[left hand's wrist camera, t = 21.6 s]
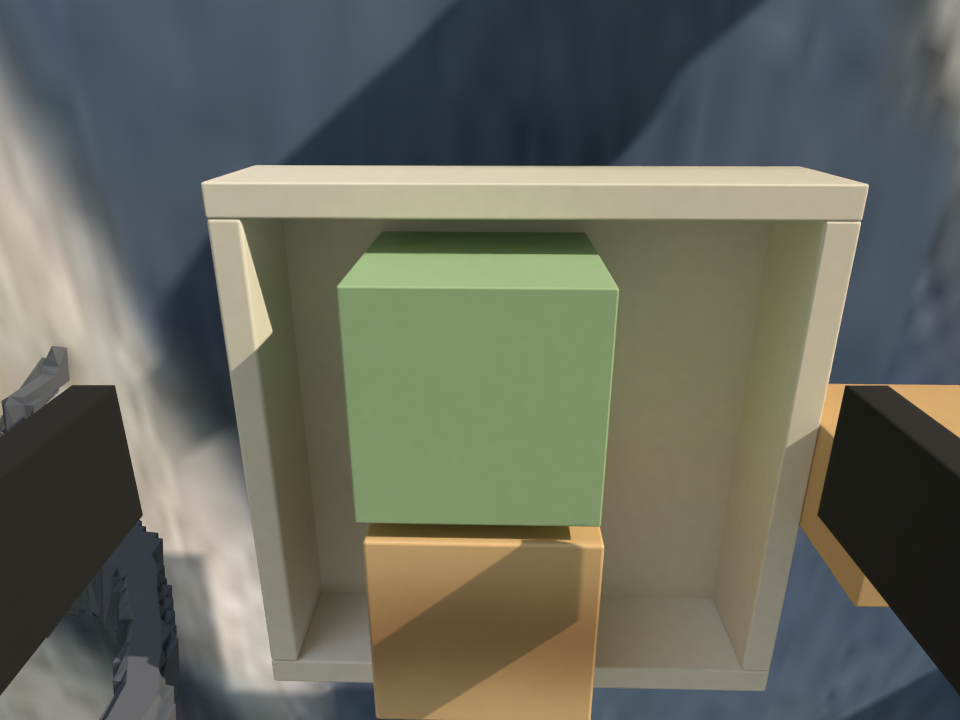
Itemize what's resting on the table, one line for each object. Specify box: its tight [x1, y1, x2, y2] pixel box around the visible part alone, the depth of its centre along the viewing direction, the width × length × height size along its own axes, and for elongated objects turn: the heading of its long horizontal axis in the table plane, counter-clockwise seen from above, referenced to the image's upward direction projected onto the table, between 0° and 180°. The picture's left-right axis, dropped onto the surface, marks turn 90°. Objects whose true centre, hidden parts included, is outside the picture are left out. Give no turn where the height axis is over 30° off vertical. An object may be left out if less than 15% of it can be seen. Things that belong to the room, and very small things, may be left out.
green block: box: [336, 231, 619, 527], centre depth 17 cm, size 6×6×6 cm
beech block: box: [363, 523, 604, 720], centre depth 19 cm, size 6×6×6 cm
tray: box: [201, 165, 960, 691], centre depth 18 cm, size 15×29×7 cm, turn 90°
